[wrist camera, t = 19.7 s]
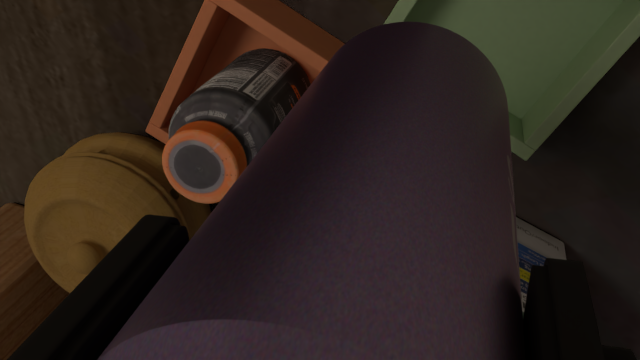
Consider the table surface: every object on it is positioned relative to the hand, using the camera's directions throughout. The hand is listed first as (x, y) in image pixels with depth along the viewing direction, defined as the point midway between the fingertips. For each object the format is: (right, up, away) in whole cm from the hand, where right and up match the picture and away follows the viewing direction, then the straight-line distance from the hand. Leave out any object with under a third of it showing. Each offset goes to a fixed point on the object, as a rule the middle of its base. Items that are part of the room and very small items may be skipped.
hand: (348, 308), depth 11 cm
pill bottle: (-4, +8, +28) cm, 30 cm away
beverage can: (+2, +5, +9) cm, 10 cm away
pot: (-13, +2, +35) cm, 37 cm away
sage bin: (+10, +12, +23) cm, 28 cm away
